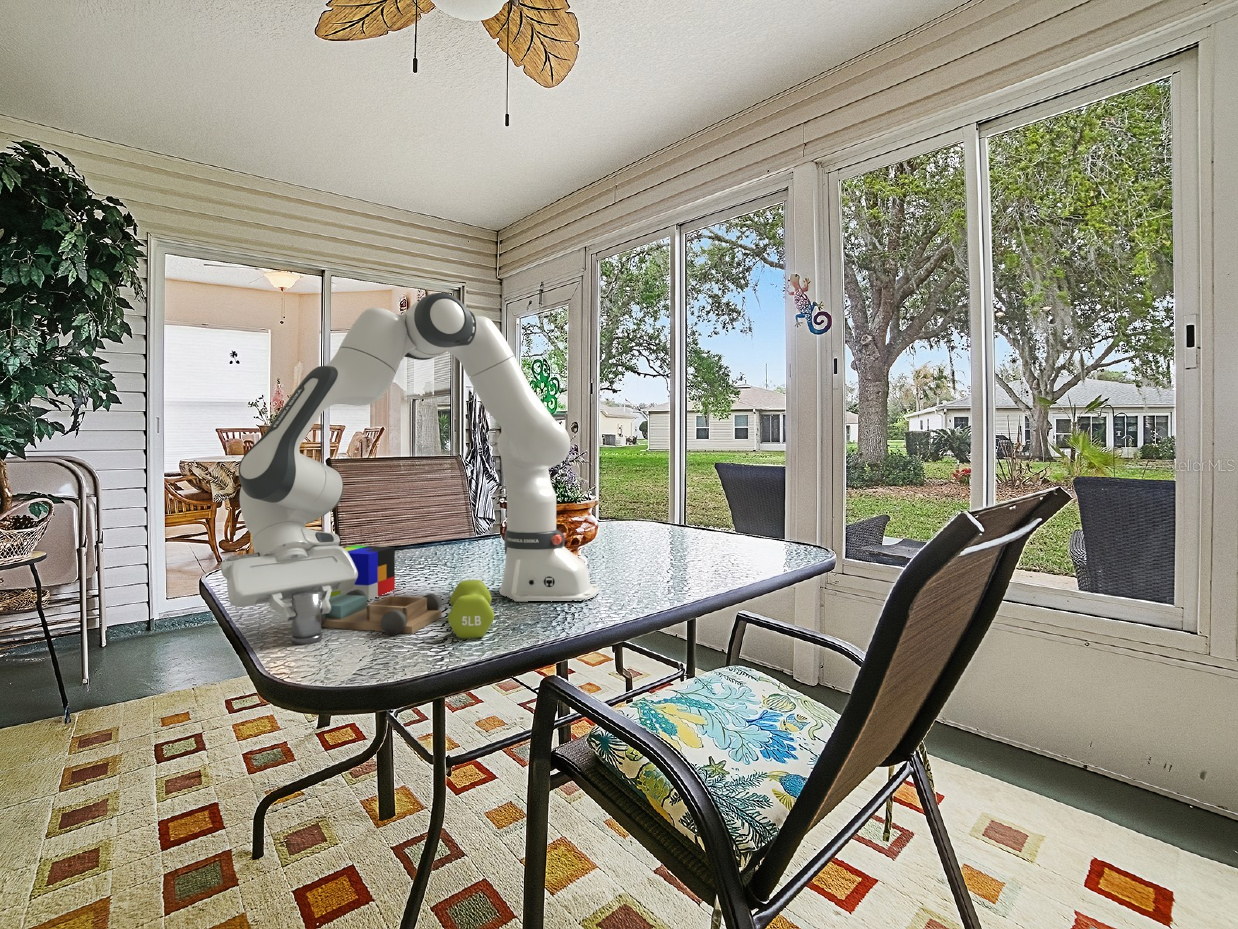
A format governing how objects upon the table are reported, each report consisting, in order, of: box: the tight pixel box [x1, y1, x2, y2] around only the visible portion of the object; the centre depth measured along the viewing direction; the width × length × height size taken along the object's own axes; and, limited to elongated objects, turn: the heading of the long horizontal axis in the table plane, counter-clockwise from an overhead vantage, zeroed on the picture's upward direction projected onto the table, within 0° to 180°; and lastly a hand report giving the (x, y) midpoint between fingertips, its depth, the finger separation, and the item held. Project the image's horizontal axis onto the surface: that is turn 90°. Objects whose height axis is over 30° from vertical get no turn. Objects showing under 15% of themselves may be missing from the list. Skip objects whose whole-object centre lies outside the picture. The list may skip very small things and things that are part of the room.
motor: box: [290, 590, 323, 646], centre depth 104 cm, size 5×5×8 cm
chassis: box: [321, 589, 443, 636], centre depth 116 cm, size 22×14×4 cm, turn 79°
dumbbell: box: [447, 579, 495, 639], centre depth 113 cm, size 16×8×7 cm, turn 13°
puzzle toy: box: [330, 545, 396, 601], centre depth 137 cm, size 10×10×10 cm
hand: (308, 615), depth 103 cm, fingers closed on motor, 4 cm apart
